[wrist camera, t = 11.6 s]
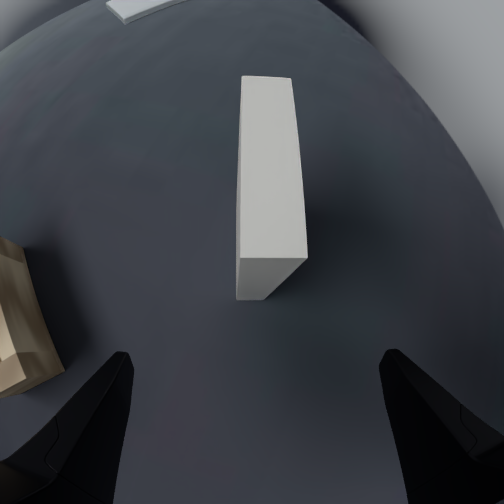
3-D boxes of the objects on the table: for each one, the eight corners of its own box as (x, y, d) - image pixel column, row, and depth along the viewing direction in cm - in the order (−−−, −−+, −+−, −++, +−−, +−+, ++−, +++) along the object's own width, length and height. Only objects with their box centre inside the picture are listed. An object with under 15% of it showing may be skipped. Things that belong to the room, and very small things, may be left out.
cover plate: (263, 300, 18) (307, 257, 7) (236, 300, 18) (240, 257, 7) (261, 205, 19) (290, 78, 9) (236, 205, 19) (242, 75, 9)
